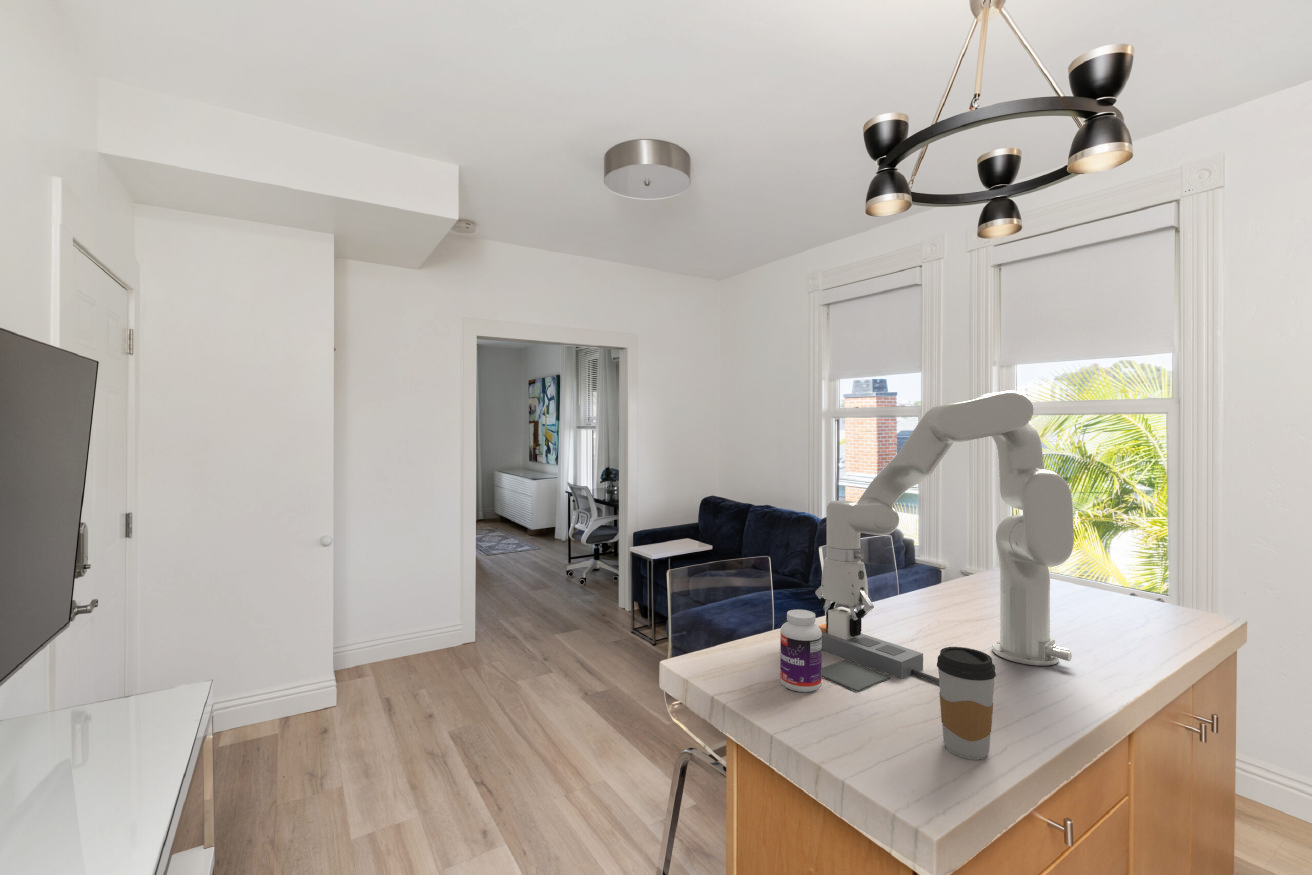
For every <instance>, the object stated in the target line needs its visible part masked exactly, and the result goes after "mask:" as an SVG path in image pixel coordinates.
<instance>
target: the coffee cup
mask: <svg viewBox="0 0 1312 875" xmlns="http://www.w3.org/2000/svg"><path fill="white" fill-rule="evenodd" d="M995 665H996V664H994V663H993V658H992V657H991V656H990V655H989V654H987V653H985V652H983V651H980V650H978V649H974V648H970V647H963V646H948V647H944V648H941V650H940V652H939V655H938V656H937V662H936V667H937V668H938V678H939V685H938V686H939V705H940V718H941V720H940V721H941V724H942V725H941V726H942V736H943V739H942V740H943V743H944V746H945V748H946V749H947V751H949V752H950V753H952V754H953V755H955V756H957V757H960V758H963V759H966V760H975V761H976V760H978V761H979V760H983V759H985V758H986V757H987V755H988V754H989V753H990V744H991V733H992V725H993V724H992V723H993V714H994V712H993V711H994V690H995V679H996V677H997V673H996V666H995Z"/></svg>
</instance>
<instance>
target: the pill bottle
mask: <svg viewBox="0 0 1312 875" xmlns="http://www.w3.org/2000/svg"><path fill="white" fill-rule="evenodd" d="M816 620H817V619H816V613H815V612H813V611H810V610H807V609H791V610H788V611H787V612H786V622H784V623H783V624H782V625H781V627H780V645H779V646H780V649H779V650H780V654H779V655H780V656H779V657H780V659H779V660H780V661H779V662H780V663H779V664H780V666H779V667H780V668H779V669H780V672H779V675H780V676H779V677H780V678H779V680H780V682H781V684H782V685H783V686H784V687H785V688H787V689H789V690H791V691H794V692H798V693H799V692H800V693H809V692H814V691H816V690H818V689H819V688H820V687H821V685H822V680H823V677H822V668H823V667H822V666H823V665H822V662H823V661H822V660H823V659H822V658H823V657H822V656H823V655H822V652H823V651H822V632H821V629H820V628H819V627H818V626H819V625H817V624H816Z"/></svg>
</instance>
